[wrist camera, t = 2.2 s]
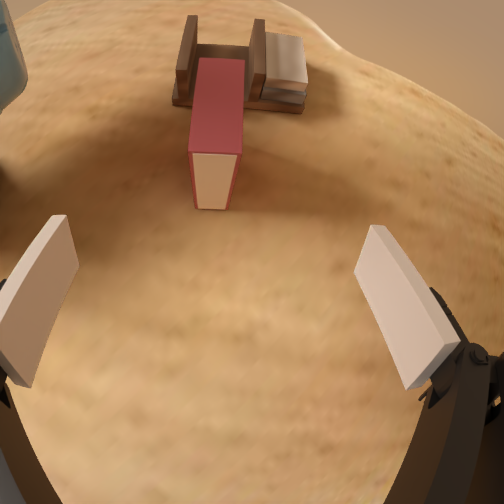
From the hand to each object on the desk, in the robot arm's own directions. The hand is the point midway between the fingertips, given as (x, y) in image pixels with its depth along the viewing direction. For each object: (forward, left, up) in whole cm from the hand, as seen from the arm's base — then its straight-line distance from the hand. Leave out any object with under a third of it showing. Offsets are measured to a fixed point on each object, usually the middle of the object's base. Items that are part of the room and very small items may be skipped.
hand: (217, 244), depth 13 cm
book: (-6, +9, -20) cm, 23 cm away
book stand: (-11, +23, -20) cm, 32 cm away
